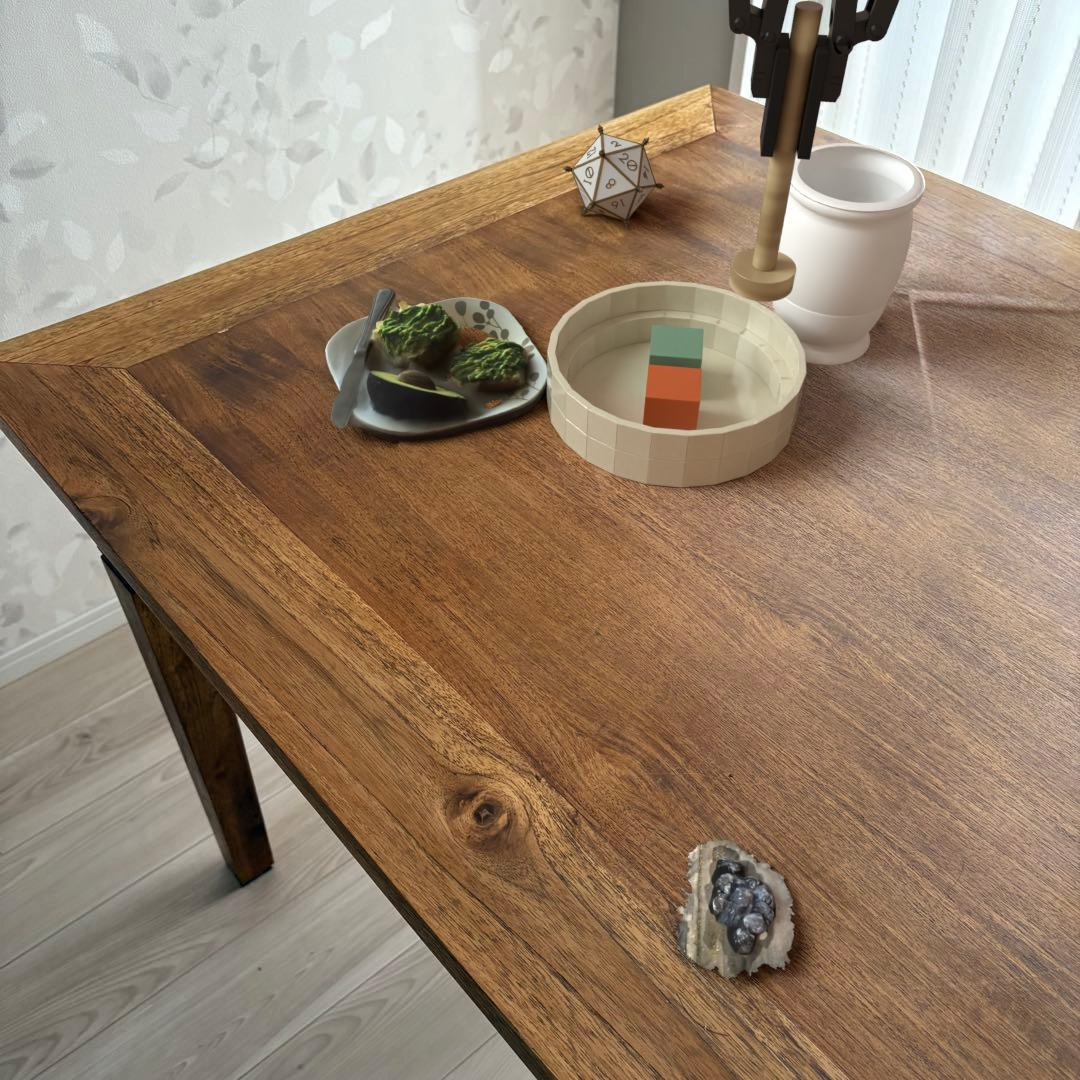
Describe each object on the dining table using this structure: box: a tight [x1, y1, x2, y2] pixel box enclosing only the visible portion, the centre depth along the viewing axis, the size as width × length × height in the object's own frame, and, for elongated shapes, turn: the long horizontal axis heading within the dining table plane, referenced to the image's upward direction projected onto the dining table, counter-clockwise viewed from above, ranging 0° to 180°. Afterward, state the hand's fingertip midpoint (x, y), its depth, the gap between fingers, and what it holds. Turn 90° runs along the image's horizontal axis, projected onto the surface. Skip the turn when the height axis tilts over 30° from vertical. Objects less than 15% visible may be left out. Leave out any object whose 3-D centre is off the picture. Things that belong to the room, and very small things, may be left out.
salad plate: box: [324, 287, 547, 444], centre depth 89 cm, size 19×18×5 cm
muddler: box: [728, 0, 824, 303], centre depth 70 cm, size 4×4×18 cm
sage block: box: [649, 325, 703, 369], centre depth 87 cm, size 4×4×4 cm
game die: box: [562, 124, 666, 230], centre depth 105 cm, size 9×8×10 cm
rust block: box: [643, 365, 702, 430], centre depth 83 cm, size 4×4×4 cm
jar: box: [771, 142, 926, 366], centre depth 88 cm, size 11×10×15 cm
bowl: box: [546, 280, 808, 488], centre depth 85 cm, size 19×19×6 cm
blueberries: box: [675, 838, 795, 980], centre depth 58 cm, size 7×8×2 cm
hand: (784, 147), depth 70 cm, fingers closed on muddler, 2 cm apart
